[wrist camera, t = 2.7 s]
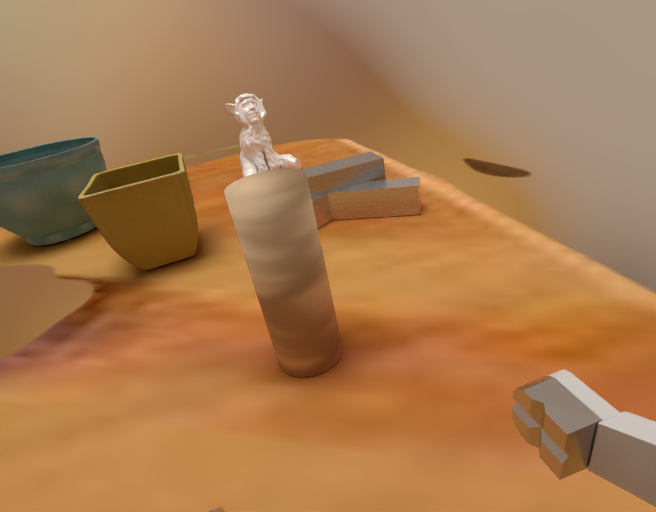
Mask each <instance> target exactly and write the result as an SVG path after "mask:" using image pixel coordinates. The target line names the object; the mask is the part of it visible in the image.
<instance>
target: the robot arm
mask: <svg viewBox="0 0 656 512" xmlns="http://www.w3.org/2000/svg"><path fill="white" fill-rule="evenodd" d="M513 399H514V400H515V401H516V402H517V403H516V404H515V406H514V407H513V409H512V418H513V421H514V424H515V426H516V428H517V430H518V431H519V433H520V435H521V436H522V437H523V438H524V439H525V441H526V442H527V443H529V444H531V445H533V446H536V447H538V448H539V454H540V458H541V459H542V460H543V461H544V462H545V464H546V465H547V466H548V467H549V468H550V469H551V470H552V472H553V473H554V474H555V475H556V476H557V477H558V478H559V480H560V479H563V478H565V477H567V476H570V475H572V474H575V473H577V472H579V471H582V470H584V469H587V468H588V470H589V471H591V472H593V473H595V474H596V475H598V476H600V477H602V478H604V479H606V480H607V481H609V482H611V483H613V484H615V485H617V486H618V487H620V488H622V489H624V490H626V491H628V492H629V493H631V494H633V495H635V496H637V497H639V498H640V499H642V500H644V501H646V502H648V503H650V504H651V505H653V506H655V507H656V422H655V421H652V420H649V419H646V418H643V417H641V416H638V415H635V414H632V413H629V412H626V411H624V412H621V413H620V412H619V411H617V410H616V409H615V408H614V407H612V406H611V405H610V404H609V403H607V402H606V401H605V400H604V399H603V398H601V397H600V396H599V395H598V394H596V393H595V392H594V391H593V390H592V389H590V388H589V387H588V386H587V385H585V384H584V383H583V382H582V381H581V380H579V379H578V378H577V377H576V376H574V375H573V374H572V373H571V372H569V371H567V370H559V371H557V372H554V373H552V374H550V375H547V376H544V377H541V378H539V379H536V380H534V381H532V382H529V383H527V384H525V385H522V386H520V387H518V388H516V389H515V390H514V391H513ZM209 512H224V510H223V508H222V507H219V508H216V509H214V510H211V511H209Z"/></svg>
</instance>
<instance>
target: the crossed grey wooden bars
mask: <svg viewBox="0 0 656 512" xmlns="http://www.w3.org/2000/svg"><path fill="white" fill-rule="evenodd" d="M301 170H304V171H305V172H306V175H307V180H308V185H309V189H310V194H311V199H312V204H313V209H314V213H315V218H316V223H317V228H320V227H322V226H323V225H325V224H327V223H328V222H330V221H332V220H342V219H358V218H374V217H390V216H406V215H420V210H421V197H420V182H419V177H412V178H401V179H390V180H386V178H385V169H384V160H383V158H382V157H380V156H378V155H376V154H374V153H372V152H367V153H363V154H359V155H355V156H352V157H348V158H344V159H340V160H336V161H332V162H328V163H324V164H320V165H316V166H312V167H309V168H305V169H301Z"/></svg>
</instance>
